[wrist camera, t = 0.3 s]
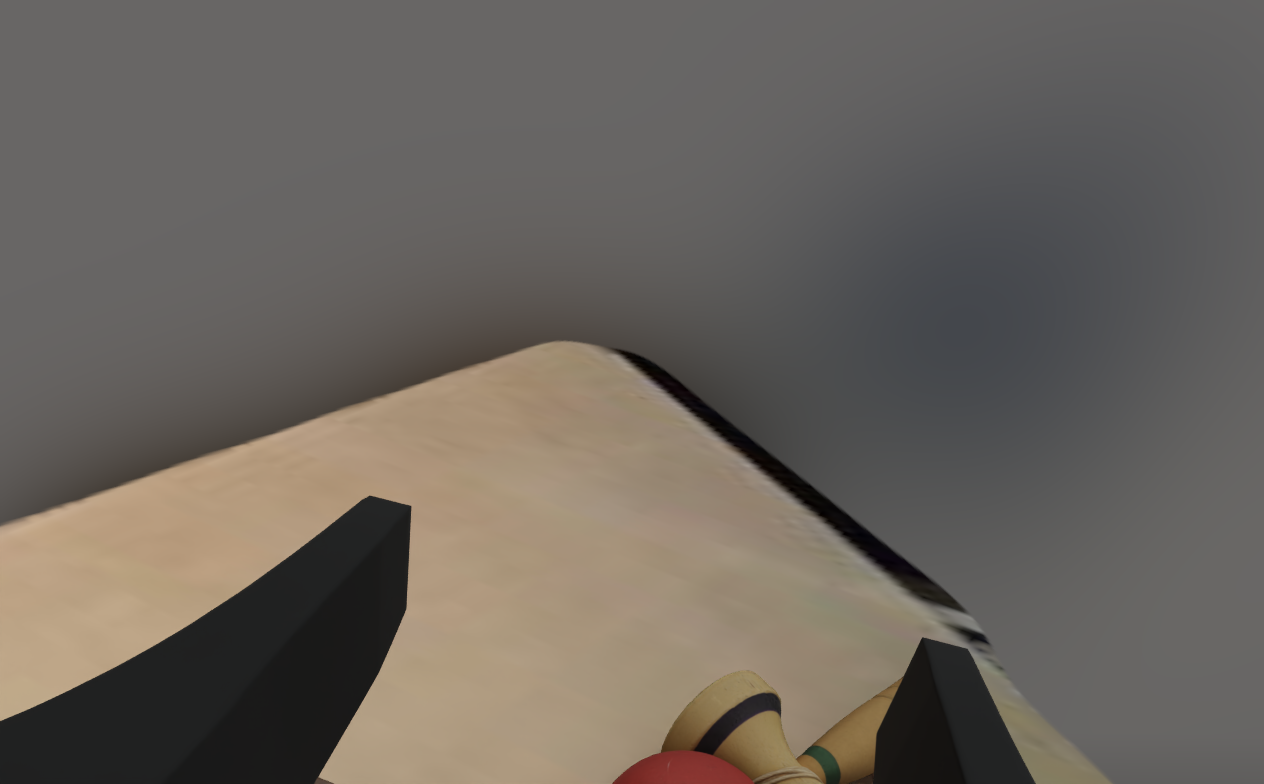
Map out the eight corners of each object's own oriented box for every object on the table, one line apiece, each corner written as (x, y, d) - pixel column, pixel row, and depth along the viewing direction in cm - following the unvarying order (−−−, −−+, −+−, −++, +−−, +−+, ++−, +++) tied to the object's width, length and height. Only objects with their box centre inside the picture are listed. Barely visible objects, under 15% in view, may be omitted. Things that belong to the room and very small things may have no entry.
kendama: (841, 648, 43) (509, 813, 31) (928, 569, 40) (588, 721, 28) (957, 808, 40) (634, 1062, 28) (1065, 737, 36) (743, 995, 24)
